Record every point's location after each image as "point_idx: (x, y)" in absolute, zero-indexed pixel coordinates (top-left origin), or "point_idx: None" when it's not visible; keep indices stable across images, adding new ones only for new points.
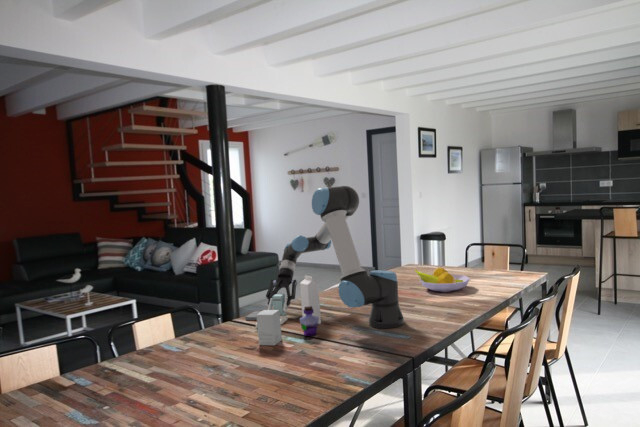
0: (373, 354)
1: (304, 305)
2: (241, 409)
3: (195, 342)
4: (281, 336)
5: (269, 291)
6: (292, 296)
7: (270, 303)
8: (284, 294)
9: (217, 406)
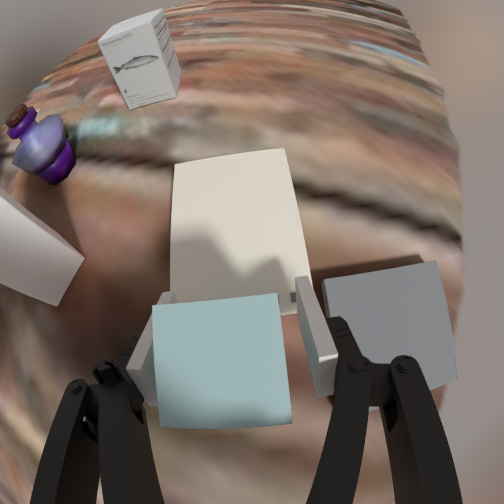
0: (3, 141)
1: (16, 204)
2: None
3: (370, 64)
4: (126, 102)
5: (410, 422)
6: (78, 382)
7: (307, 311)
8: (163, 423)
9: (166, 13)
